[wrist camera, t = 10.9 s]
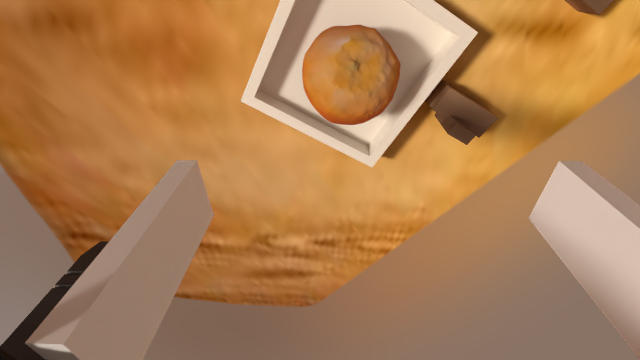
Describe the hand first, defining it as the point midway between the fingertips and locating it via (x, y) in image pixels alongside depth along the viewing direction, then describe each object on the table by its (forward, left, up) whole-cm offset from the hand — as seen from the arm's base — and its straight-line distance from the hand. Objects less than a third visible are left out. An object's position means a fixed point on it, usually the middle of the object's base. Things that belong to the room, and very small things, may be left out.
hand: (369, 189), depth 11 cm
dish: (0, 0, -21) cm, 21 cm away
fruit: (0, 0, -20) cm, 20 cm away
